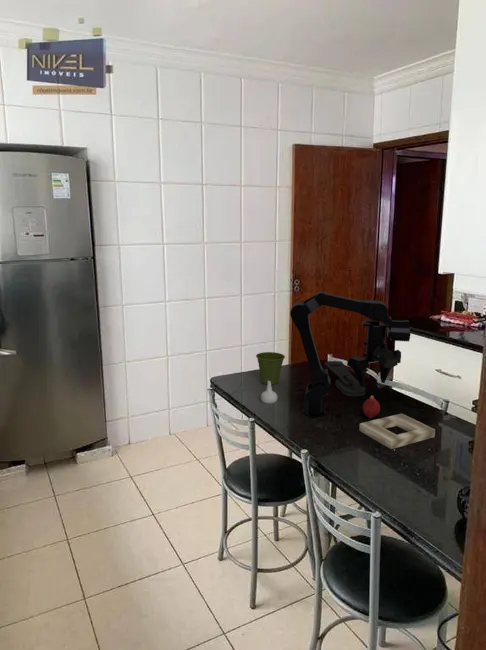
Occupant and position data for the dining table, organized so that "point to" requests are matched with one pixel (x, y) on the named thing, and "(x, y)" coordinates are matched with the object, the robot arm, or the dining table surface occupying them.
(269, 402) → the garlic bulb
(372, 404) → the onion
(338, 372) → the zipper pull
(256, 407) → the dining table surface
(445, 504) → the dining table surface
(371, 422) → the cutout board
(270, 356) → the plant pot
